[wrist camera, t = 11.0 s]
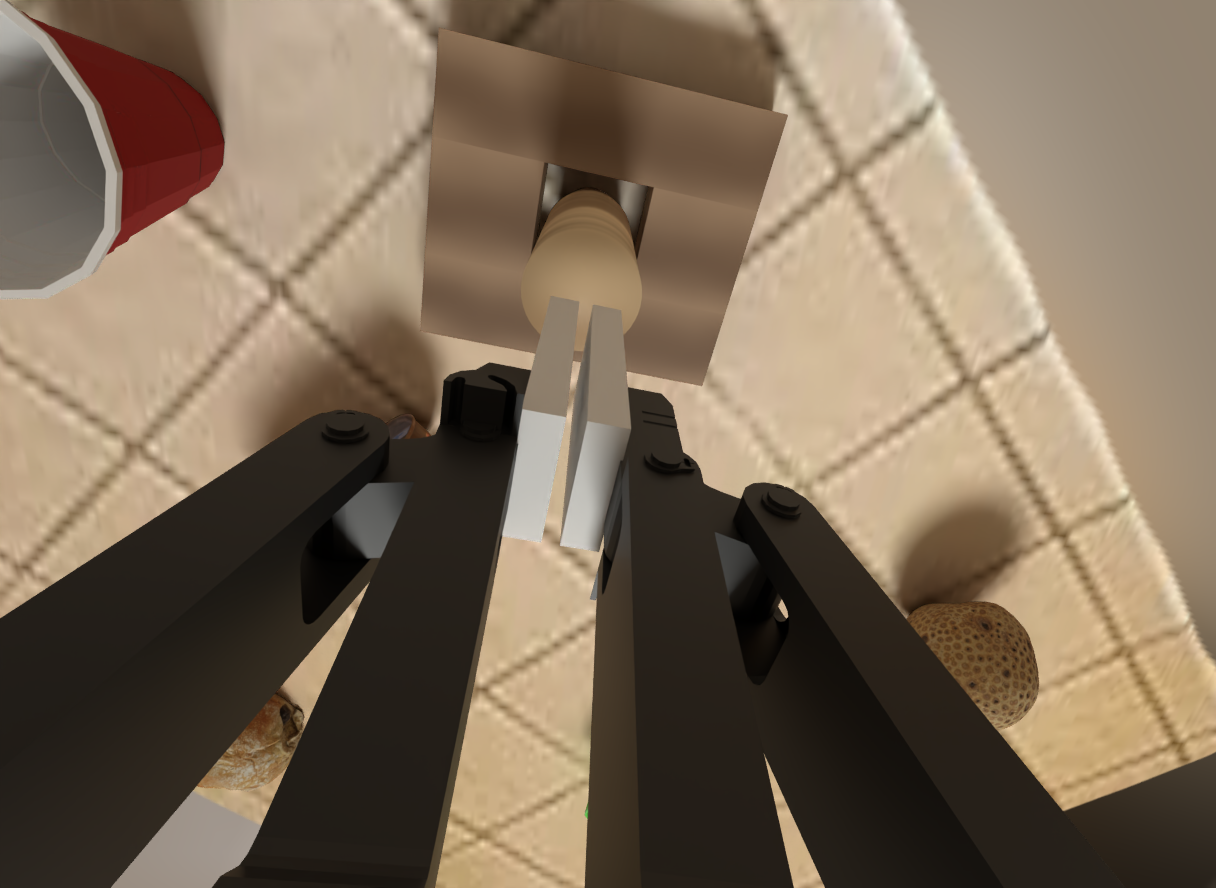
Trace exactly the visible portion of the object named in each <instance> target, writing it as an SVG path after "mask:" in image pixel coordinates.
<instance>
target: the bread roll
mask: <svg viewBox="0 0 1216 888" xmlns="http://www.w3.org/2000/svg"><path fill="white" fill-rule="evenodd" d="M303 720H304V715H303V713H302V712H300V711H299V710H297V709H296V708H295V707H293V706H292V705H291V704H289V703H288V702H287V701H286V700H285V699H284V698H282V697H280V696H278V695H277V694H274V695H273V696H272V698H271V699H270V700H269V701H268V702H267V703H266V705H265V706H264V707H263V708H262V709H261V711H260V712H259V713H258V714H257V715H256V716H255V718H254V719H253V720H252V721H251V722H250V724H249V725H248V726H247V727H246V728H245V729H244V731H243V732H242V733H241V734H240V735H239V737H238V738H237V739H236V740H235V741H234V742H233V744H232V745H231V746H230V747H229V748H228V750H227V751H226V752H225V753H224V754H223V755H222V757H221V758H220V759H219V760H218V761H217V763H216V764H215V765H214V766H213V767H212V768H211V770H210V771H209V772H208V773H207V774H206V776H205V777H204V778H203V779H202V780H201V781H200V783H199V784H198V785H197V786H198V787H204V788H226V789H229V790H241V791H247V792H249V791H251V790H254V789H257V788H260V787H262V786H264V785H266V784H268V783H270V782H271V781H272V780H274V779H275V778H276V777H277V776H278V775H280V774H281V773H282V772H283V770H284V769H285V768H286V767H287V766H288V765H289V763H290V760H291V758H292V756H293V754H294V751H295V749H296V747H297V745H298V742H299V740H300V737H301V736H302V726H301V723H302V722H303Z"/></svg>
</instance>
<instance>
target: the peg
mask: <svg viewBox="0 0 1216 888" xmlns="http://www.w3.org/2000/svg"><path fill="white" fill-rule="evenodd" d="M551 296H555V297H560V298H565V299H569V300H574V301H579V310H578V319H577V327H576V336H575V345H574V351H584V346H585V341H586V336H587V331H588V326H589V322H590V317H591V312H592V307H593V304H594V305H598V306H603V307H608V308H613V309H618V310H621V314H622V326H623V335H624V334H625V333H626V332H627V331H628V330H629V329H630V327H631V326H632V324H633V323H634V321H635V319H636V317H637V315H638V312H639V309H640V306H641V300H642V285H641V279H640V274H639V269H638V264H637V259H636V255H635V250H634V245H633V240H632V235H631V230H630V225H629V221H628V219H627V216H626V214H625V212H624V211H623V209H622V208H621V206H620V205H619V204H618V203H617V202H616V201H615V200H614V199H612V198H611V197H610V196H609V195H608V194H606V193H605V192H603V191H601V190H599V189H595V188H583V189H579V190H577V191H575V192H573V193H571V194H568V195H567V196H565V197H563V198H562V199H561V200H560V201H558V203H557V204H556V205H555V206H554V207H553V209H552V210H551V212H550V214H549V216H548V218H547V220H546V222H545V225H544V227H543V229H542V231H541V234H540V236H539V238H538V240H537V243H536V245H535V247H534V249H533V251H532V254H531V256H530V258H529V260H528V263H527V265H526V267H525V270H524V273H523V277H522V282H521V298H522V304H523V307H524V310H525V313H526V315H527V317H528V319H529V321H530V323H531V324H532V326H533V327H534V328H535V329H536V330H537V332H538V333H539V334H540V335H541V331H542V328H543V324H544V320H545V316H546V312H547V308H548V304H549V301H550V297H551Z"/></svg>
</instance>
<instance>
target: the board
mask: <svg viewBox="0 0 1216 888" xmlns="http://www.w3.org/2000/svg"><path fill="white" fill-rule="evenodd" d="M787 117H788V115H786V114H782V113H778V112H774V111H770V110H766V109H762V108H758V107H754V106H750V105H746V104H742V103H738V102H734V101H730V100H726V99H722V98H718V97H714V96H710V95H706V94H702V93H698V92H694V91H690V90H686V89H682V88H678V87H674V86H670V85H666V84H662V83H658V82H654V81H650V80H646V79H642V78H638V77H634V76H630V75H626V74H622V73H618V72H614V71H610V70H606V69H602V68H598V67H594V66H590V65H586V64H582V63H578V62H574V61H570V60H566V59H562V58H558V57H554V56H550V55H546V54H542V53H538V52H534V51H530V50H526V49H522V48H518V47H514V46H510V45H506V44H502V43H498V42H494V41H490V40H486V39H482V38H478V37H474V36H470V35H466V34H462V33H458V32H454V31H450V30H446V29H442V28H439V34H438V50H437V67H436V83H435V99H434V115H433V132H432V148H431V164H430V180H429V197H428V213H427V229H426V245H425V262H424V278H423V294H422V310H421V327H420V331H423V332H428V333H433V334H438V335H443V336H448V337H453V338H458V339H464V340H469V341H474V342H479V343H484V344H489V345H494V346H499V347H505V348H510V349H515V350H520V351H525V352H530V353H535V354H536V351H537V347H538V343H539V339H540V334H539V333H538V332H537V330H536V329H535V328H534V327H533V326H532V324H531V323H530V321H529V319H528V317H527V315H526V313H525V310H524V307H523V304H522V298H521V282H522V277H523V273H524V270H525V267H526V265H527V263H528V260H529V258H530V256H531V254H532V251H533V249H534V247H535V245H536V241H537V235H538V228H539V221H540V215H541V208H542V201H543V195H544V188H545V181H546V174H547V168H548V163H550V164H554V165H559V166H563V167H567V168H572V169H576V170H580V171H585V172H589V173H593V174H598V175H602V176H606V177H611V178H615V179H619V180H624V181H628V182H632V183H637V184H641V185H645V186H648V190H647V195H646V199H645V204H644V208H643V212H642V217H641V221H640V226H639V230H638V234H637V239H636V243H635V247H634V250H635V255H636V259H637V264H638V269H639V274H640V279H641V285H642V300H641V306H640V309H639V312H638V315H637V317H636V319H635V321H634V323H633V324H632V326H631V327H630V329H629V330H628V331H627V332H626V333H625V334H624V335H623V337H624V349H625V361H626V371H627V372H633V373H638V374H643V375H648V376H653V377H658V378H663V379H668V380H674V381H679V382H684V383H689V384H694V385H699V386H702V385H703V382H704V378H705V375H706V372H707V369H708V366H709V363H710V359H711V356H712V353H713V350H714V347H715V344H716V341H717V337H718V334H719V331H720V328H721V325H722V322H723V318H724V315H725V312H726V309H727V306H728V303H729V300H730V296H731V293H732V290H733V287H734V284H735V281H736V277H737V274H738V271H739V268H740V265H741V262H742V259H743V255H744V252H745V249H746V246H747V243H748V240H749V236H750V233H751V230H752V227H753V224H754V221H755V218H756V214H757V211H758V208H759V205H760V202H761V199H762V196H763V192H764V189H765V186H766V183H767V180H768V177H769V173H770V170H771V167H772V164H773V161H774V158H775V155H776V151H777V148H778V145H779V142H780V139H781V136H782V132H783V129H784V126H785V123H786V120H787ZM582 356H583V351H574V354H573V361H576V362H581V361H582Z"/></svg>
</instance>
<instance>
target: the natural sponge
mask: <svg viewBox="0 0 1216 888" xmlns="http://www.w3.org/2000/svg"><path fill="white" fill-rule="evenodd" d="M906 620H907V621H908V622H909V623H910V624H911V626H912V627H913V628H914V629H915V631H916V632H917V633H918V634H919V635H920V637H921V638H922V639H923V640H924V642H925V643H926V644H927V645H928V646H929V648H930V649H931V650H932V651H933V653H934V654H935V655H936V656H937V657H938V659H939V660H940V661H941V662H942V664H943V665H944V666H945V667H946V669H947V670H948V671H949V672H950V673H951V675H952V676H953V677H954V678H955V680H956V681H957V682H958V683H959V684H960V686H961V687H962V688H963V689H964V691H965V692H966V693H967V694H968V695H969V697H970V698H971V699H972V700H973V702H974V703H975V704H976V705H977V706H978V708H979V709H980V710H981V711H982V713H983V714H984V715H985V716H986V717H987V719H988V720H989V721H990V722H991V724H992V725H993V726H994V727H995V729H996V730H1001V729H1005V728H1007V727H1009V726H1012V725H1013V724H1015V723H1017V722H1018V721H1019V720H1020V719H1022V718H1023V717H1024V716H1025V715H1026V713H1027V712H1028V711H1029V710H1030V709H1031V708H1032V706H1033V705H1034V703H1035V701H1036V698H1037V695H1038V689H1039V677H1038V668H1037V663H1036V659H1035V654H1034V650H1033V647H1032V644H1031V641H1030V638H1029V636H1028V634H1027V632H1026V630H1025V629H1024V627H1023V626H1022V625H1021V624H1020V623H1019V622H1018V620H1017V619H1016V618H1015V617H1014V616H1013V615H1012V614H1010V613H1009V612H1008V611H1007V610H1005V609H1004V608H1003V607H1001V606H999V605H997V604H994V603H990V602H966V603H959V604H948V603H939V604H937V603H936V604H927V605H923V606H921V607H919V608H917V609H916V610H915V611H913V612H912V613H911V614H910V615H909V617H908V618H907V619H906Z"/></svg>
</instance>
